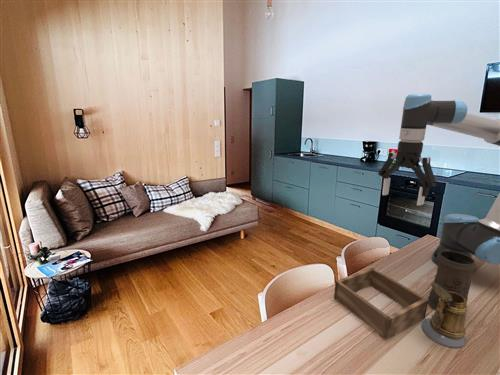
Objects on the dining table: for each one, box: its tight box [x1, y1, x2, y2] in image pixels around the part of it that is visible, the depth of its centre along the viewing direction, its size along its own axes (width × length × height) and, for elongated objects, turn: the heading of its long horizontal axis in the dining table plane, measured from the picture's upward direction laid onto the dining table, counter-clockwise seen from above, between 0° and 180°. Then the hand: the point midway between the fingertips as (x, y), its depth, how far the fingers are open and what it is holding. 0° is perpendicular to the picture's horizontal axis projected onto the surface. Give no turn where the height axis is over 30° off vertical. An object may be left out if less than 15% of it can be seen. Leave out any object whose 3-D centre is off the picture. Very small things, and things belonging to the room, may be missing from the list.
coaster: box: [421, 317, 466, 349], centre depth 83 cm, size 11×11×1 cm
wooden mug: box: [430, 281, 468, 339], centre depth 81 cm, size 9×14×18 cm, turn 110°
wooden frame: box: [333, 267, 429, 341], centre depth 93 cm, size 19×21×7 cm
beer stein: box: [427, 250, 476, 311], centre depth 94 cm, size 15×11×20 cm
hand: (401, 199), depth 99 cm, fingers open, 13 cm apart
